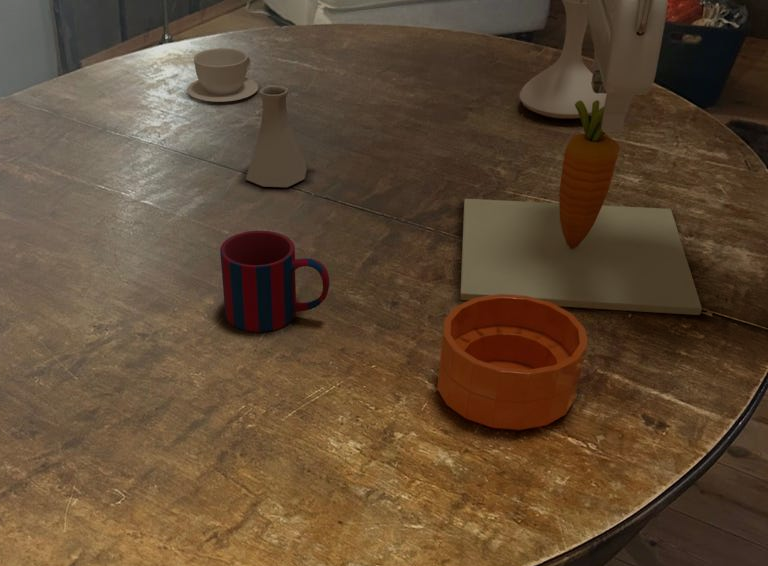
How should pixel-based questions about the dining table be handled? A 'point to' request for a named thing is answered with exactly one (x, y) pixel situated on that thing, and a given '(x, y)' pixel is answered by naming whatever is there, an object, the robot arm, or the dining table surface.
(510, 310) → the bowl
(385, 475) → the dining table surface
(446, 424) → the dining table surface
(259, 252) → the cup
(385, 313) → the dining table surface
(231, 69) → the teacup
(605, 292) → the mat
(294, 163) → the flask
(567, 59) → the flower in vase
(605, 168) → the carrot
